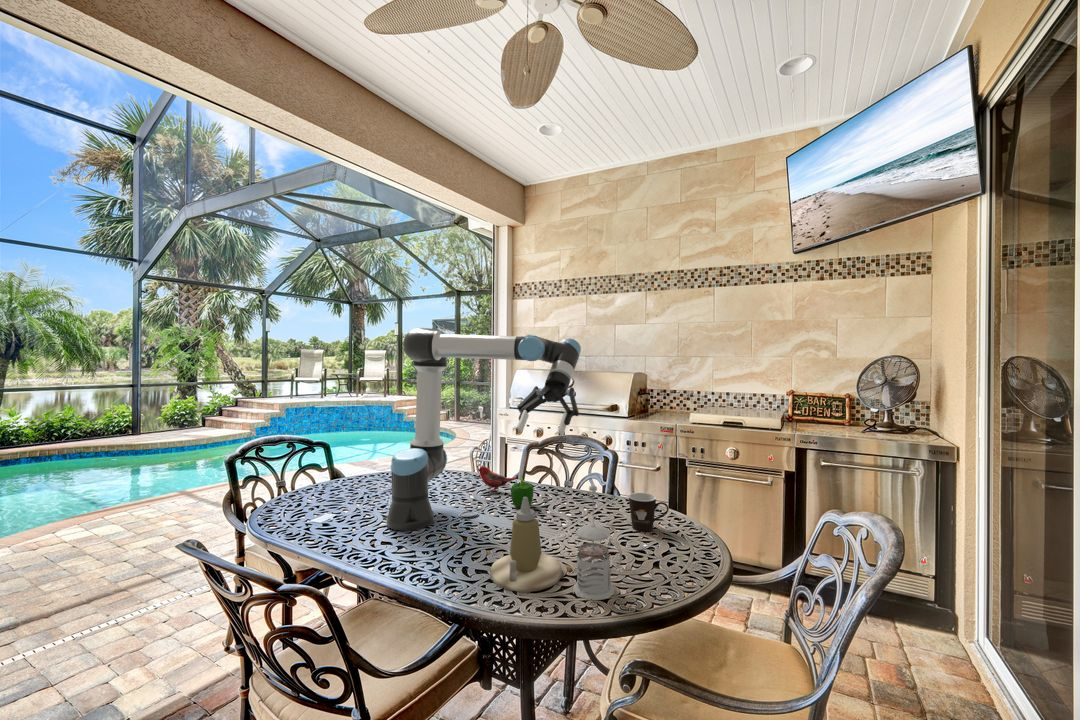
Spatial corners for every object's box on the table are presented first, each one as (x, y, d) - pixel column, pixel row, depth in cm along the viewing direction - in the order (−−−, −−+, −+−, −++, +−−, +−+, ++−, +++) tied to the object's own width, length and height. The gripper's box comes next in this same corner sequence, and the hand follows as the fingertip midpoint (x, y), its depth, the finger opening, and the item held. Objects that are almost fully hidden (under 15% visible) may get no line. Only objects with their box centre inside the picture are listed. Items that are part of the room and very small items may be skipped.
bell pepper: (530, 510, 167) (530, 482, 167) (508, 509, 169) (508, 481, 168) (535, 503, 175) (535, 476, 175) (514, 501, 177) (514, 475, 177)
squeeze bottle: (504, 571, 118) (504, 500, 118) (517, 558, 126) (517, 491, 126) (535, 577, 116) (534, 504, 115) (546, 562, 123) (545, 494, 123)
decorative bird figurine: (478, 489, 193) (478, 464, 193) (520, 492, 188) (519, 467, 188) (475, 491, 190) (475, 466, 190) (517, 494, 186) (517, 469, 185)
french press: (577, 576, 119) (577, 478, 118) (624, 583, 115) (623, 481, 115) (568, 596, 109) (568, 489, 109) (619, 604, 106) (618, 493, 105)
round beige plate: (477, 581, 116) (476, 557, 116) (512, 553, 133) (512, 531, 133) (543, 598, 109) (542, 572, 108) (572, 565, 125) (572, 543, 125)
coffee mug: (623, 528, 150) (623, 497, 150) (637, 520, 156) (637, 491, 156) (656, 538, 142) (656, 505, 142) (670, 530, 148) (670, 498, 148)
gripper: (598, 386, 151) (582, 441, 138) (529, 384, 162) (507, 435, 149) (592, 370, 146) (575, 426, 133) (521, 369, 157) (498, 421, 144)
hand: (539, 431), depth 141 cm, fingers open, 13 cm apart
